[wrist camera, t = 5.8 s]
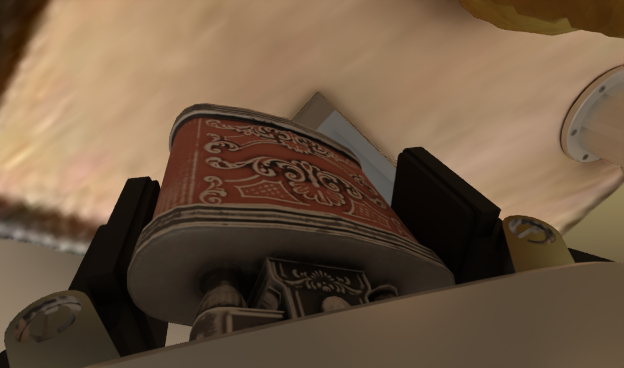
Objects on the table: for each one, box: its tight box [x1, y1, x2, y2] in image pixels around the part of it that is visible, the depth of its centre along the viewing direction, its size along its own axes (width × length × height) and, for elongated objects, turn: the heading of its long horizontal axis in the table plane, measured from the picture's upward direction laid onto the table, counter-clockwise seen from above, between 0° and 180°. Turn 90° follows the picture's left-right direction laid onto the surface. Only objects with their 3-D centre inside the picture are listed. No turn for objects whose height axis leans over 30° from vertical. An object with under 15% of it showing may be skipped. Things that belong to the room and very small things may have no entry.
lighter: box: [127, 103, 455, 341], centre depth 10 cm, size 8×3×10 cm, turn 67°
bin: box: [292, 92, 396, 207], centre depth 36 cm, size 18×18×6 cm
